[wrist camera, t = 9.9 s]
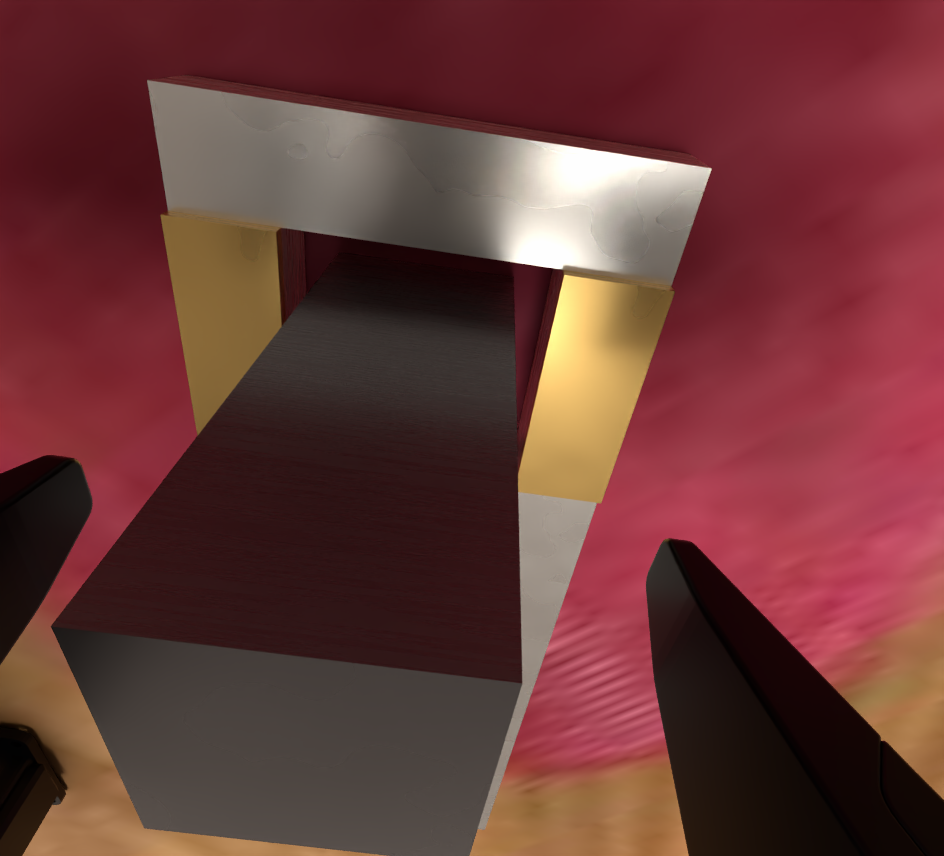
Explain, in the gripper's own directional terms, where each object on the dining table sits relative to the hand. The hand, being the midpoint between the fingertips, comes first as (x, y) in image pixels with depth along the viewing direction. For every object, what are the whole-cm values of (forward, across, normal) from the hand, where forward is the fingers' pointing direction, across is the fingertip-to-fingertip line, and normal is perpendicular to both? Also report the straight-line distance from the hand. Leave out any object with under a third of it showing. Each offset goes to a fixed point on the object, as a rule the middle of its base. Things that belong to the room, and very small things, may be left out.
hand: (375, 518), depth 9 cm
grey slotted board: (+6, 0, +9) cm, 11 cm away
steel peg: (+6, 0, 0) cm, 6 cm away
